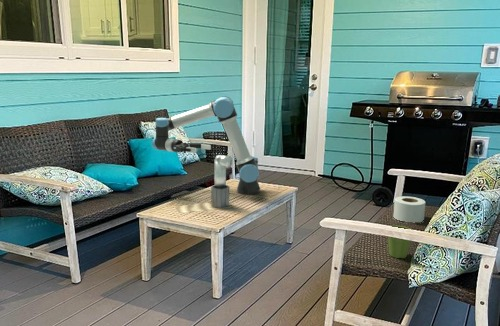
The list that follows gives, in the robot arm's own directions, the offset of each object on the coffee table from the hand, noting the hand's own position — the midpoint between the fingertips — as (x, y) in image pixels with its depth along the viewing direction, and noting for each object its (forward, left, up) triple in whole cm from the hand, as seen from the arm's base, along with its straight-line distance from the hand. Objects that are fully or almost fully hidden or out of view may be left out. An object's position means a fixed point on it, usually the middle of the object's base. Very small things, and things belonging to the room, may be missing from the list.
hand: (203, 148), depth 249 cm
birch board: (+3, +9, -33) cm, 34 cm away
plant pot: (-55, +101, -33) cm, 119 cm away
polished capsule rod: (-8, +11, -23) cm, 27 cm away
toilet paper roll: (-94, +64, -33) cm, 119 cm away
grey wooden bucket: (-7, +10, -32) cm, 34 cm away
